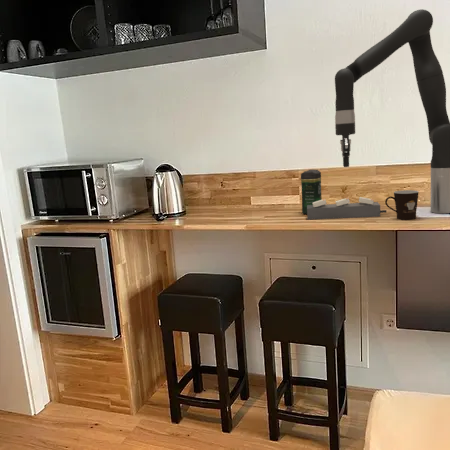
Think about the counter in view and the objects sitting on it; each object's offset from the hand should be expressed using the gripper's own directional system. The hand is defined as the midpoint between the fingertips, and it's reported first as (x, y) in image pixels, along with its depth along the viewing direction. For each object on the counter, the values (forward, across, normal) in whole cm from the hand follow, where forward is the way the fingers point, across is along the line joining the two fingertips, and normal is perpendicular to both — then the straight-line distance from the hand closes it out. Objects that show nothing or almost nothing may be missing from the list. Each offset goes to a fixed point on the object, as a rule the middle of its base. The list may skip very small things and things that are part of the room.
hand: (346, 166), depth 192 cm
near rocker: (+13, -3, -7) cm, 15 cm away
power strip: (+20, -2, 0) cm, 20 cm away
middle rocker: (+14, -3, +2) cm, 14 cm away
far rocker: (+14, -3, +11) cm, 18 cm away
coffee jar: (+20, +9, +14) cm, 26 cm away
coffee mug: (+20, -12, -19) cm, 30 cm away
